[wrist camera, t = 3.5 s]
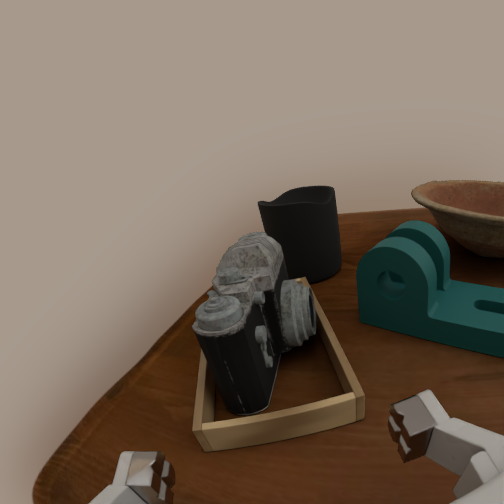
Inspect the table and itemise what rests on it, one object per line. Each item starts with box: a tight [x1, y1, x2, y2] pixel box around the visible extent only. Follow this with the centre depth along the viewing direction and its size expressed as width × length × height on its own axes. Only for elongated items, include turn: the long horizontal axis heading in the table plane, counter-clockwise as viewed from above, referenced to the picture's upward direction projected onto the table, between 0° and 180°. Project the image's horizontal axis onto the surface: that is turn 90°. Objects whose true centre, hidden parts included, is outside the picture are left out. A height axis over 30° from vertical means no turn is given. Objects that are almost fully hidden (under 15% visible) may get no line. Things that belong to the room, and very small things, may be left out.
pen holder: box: [258, 186, 342, 283], centre depth 40 cm, size 9×9×10 cm
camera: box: [192, 232, 316, 415], centre depth 25 cm, size 15×7×10 cm, turn 168°
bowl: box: [411, 180, 504, 258], centre depth 32 cm, size 24×24×8 cm
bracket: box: [356, 220, 504, 358], centre depth 22 cm, size 18×7×8 cm, turn 42°
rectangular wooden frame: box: [192, 277, 365, 452], centre depth 26 cm, size 11×18×2 cm, turn 3°
